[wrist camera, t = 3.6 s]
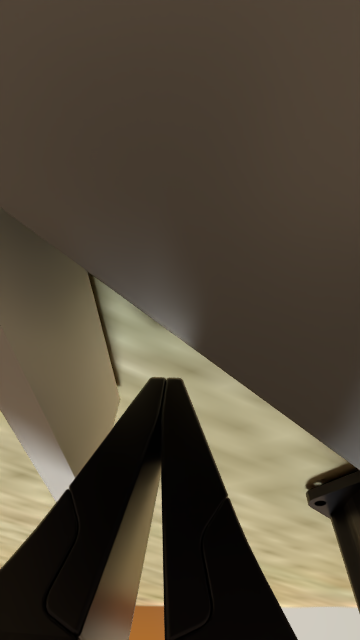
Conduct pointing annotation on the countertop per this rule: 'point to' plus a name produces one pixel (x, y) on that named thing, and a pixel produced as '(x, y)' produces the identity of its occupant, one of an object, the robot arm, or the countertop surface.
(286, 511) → the countertop surface
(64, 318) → the side door
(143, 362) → the countertop surface
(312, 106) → the camera block
